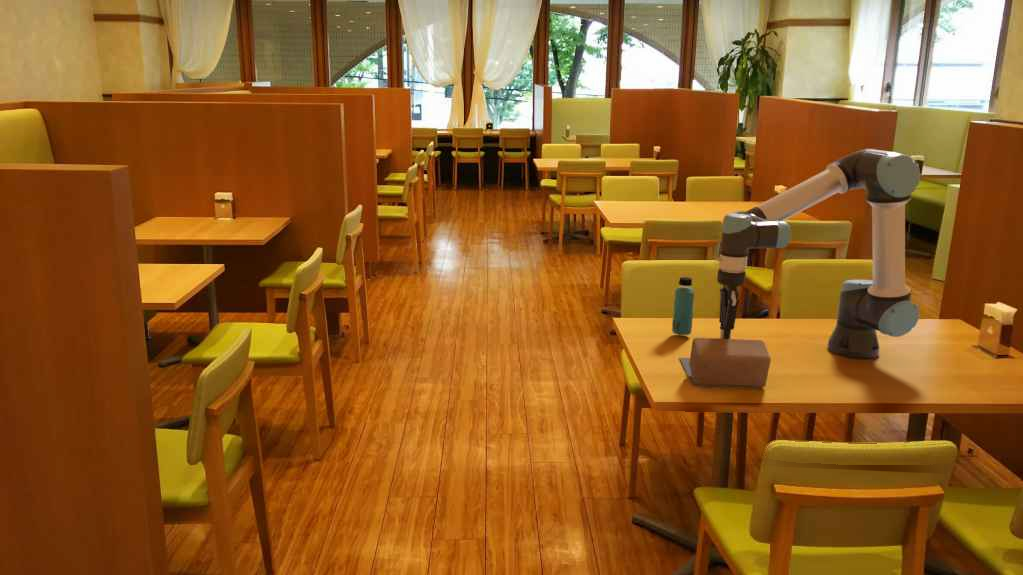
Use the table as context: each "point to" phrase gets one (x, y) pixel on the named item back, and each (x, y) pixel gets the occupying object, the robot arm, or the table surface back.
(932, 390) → the table surface
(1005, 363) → the table surface
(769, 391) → the table surface
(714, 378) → the wooden block
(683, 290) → the beverage bottle
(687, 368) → the mat
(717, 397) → the table surface
